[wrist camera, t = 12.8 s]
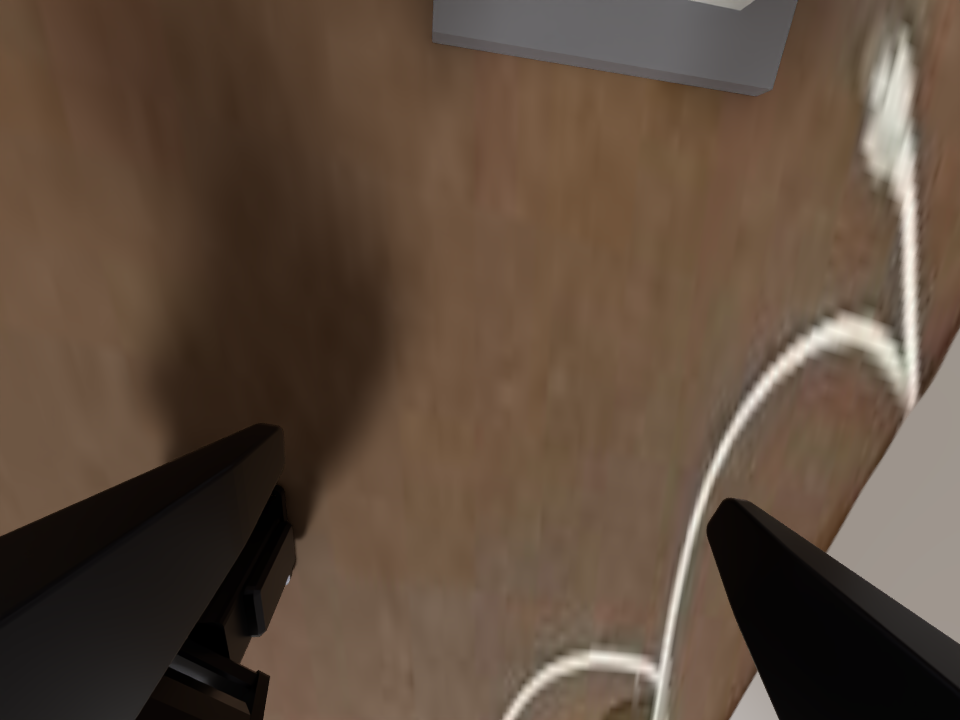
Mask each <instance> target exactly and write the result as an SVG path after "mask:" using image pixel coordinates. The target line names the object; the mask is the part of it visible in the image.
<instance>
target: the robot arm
mask: <svg viewBox="0 0 960 720" xmlns="http://www.w3.org/2000/svg"><path fill="white" fill-rule="evenodd" d="M284 464H285V449H284V433H283V430H282V428H281V427H280V426H277V425H271V424H264V423H258V424H255V425H253V426H250V427H248V428H246V429H244V430H241V431H239V432H237V433H234V434H232V435H230V436H228V437H225V438H223V439H221V440H219V441H216V442H214V443H212V444H209V445H207V446H205V447H203V448H200V449H198V450H196V451H194V452H191V453H189V454H187V455H184V456H182V457H180V458H178V459H175V460H173V461H171V462H169V463H166V464H164V465H162V466H159V467H157V468H155V469H153V470H150V471H148V472H146V473H144V474H141V475H139V476H137V477H134V478H132V479H130V480H128V481H125V482H123V483H121V484H119V485H116V486H114V487H112V488H109V489H107V490H105V491H103V492H100V493H98V494H96V495H94V496H91V497H89V498H87V499H84V500H82V501H80V502H78V503H75V504H73V505H71V506H69V507H66V508H64V509H62V510H59V511H57V512H55V513H53V514H50V515H48V516H46V517H43V518H41V519H39V520H37V521H34V522H32V523H30V524H28V525H25V526H23V527H21V528H18V529H16V530H14V531H12V532H9V533H7V534H5V535H3V536H0V720H263V716H264V710H265V704H266V698H267V692H268V686H269V680H270V676H269V675H267V674H265V673H263V672H261V671H259V670H258V671H256V672H255V671H253V670H251V669H249V668H247V667H245V666H243V665H241V664H240V663H241V660H242V658H243V656H244V654H245V651H246V649H247V647H248V645H249V642H250V640H251V638H252V637H260V636H261V635H262V634H263V633H264V632H265V631H266V630H267V628H268V626H269V623H270V621H271V618H272V616H273V613H274V611H275V609H276V606H277V604H278V601H279V599H280V597H281V594H282V592H283V589H284V587H285V585H286V584H288V583H289V581H290V579H291V576H292V568H293V565H294V563H295V548H294V538H293V527H292V524H291V523H290V522H289V521H287V513H286V503H285V492H284V489H283V488H282V487H281V486H279V485H276V483H277V481H278V479H279V477H280V475H281V473H282V471H283V468H284ZM271 493H272V494H274V495H276V496H271ZM706 532H707V538H708V541H709V544H710V547H711V549H712V552H713V555H714V558H715V561H716V564H717V567H718V570H719V573H720V576H721V579H722V582H723V585H724V588H725V591H726V594H727V597H728V600H729V603H730V605H731V608H732V611H733V614H734V616H735V619H736V621H737V623H738V626H739V628H740V631H741V633H742V635H743V638H744V640H745V642H746V645H747V647H748V649H749V651H750V654H751V656H752V658H753V661H754V663H755V665H756V668H757V670H758V672H759V674H760V677H761V679H762V681H763V684H764V686H765V688H766V691H767V693H768V695H769V697H770V700H771V702H772V704H773V707H774V709H775V711H776V714H777V716H778V718H779V720H960V644H959V643H957V642H956V641H954V640H953V639H951V638H950V637H948V636H947V635H945V634H944V633H943V632H941V631H940V630H938V629H937V628H935V627H934V626H932V625H931V624H929V623H928V622H926V621H925V620H923V619H922V618H920V617H919V616H918V615H916V614H915V613H913V612H912V611H910V610H909V609H907V608H906V607H904V606H903V605H901V604H900V603H898V602H897V601H895V600H894V599H893V598H891V597H890V596H888V595H887V594H885V593H884V592H882V591H881V590H879V589H878V588H876V587H875V586H873V585H872V584H871V583H869V582H868V581H866V580H865V579H863V578H862V577H860V576H859V575H857V574H856V573H854V572H853V571H851V570H850V569H848V568H847V567H846V566H844V565H843V564H841V563H839V562H838V561H837V560H835V559H834V558H832V557H831V556H829V555H828V554H826V553H825V552H823V551H822V550H821V549H819V548H818V547H816V546H815V545H813V544H812V543H810V542H809V541H807V540H806V539H804V538H803V537H801V536H800V535H798V534H797V533H796V532H794V531H793V530H791V529H790V528H788V527H787V526H785V525H784V524H782V523H781V522H779V521H778V520H776V519H775V518H773V517H772V516H771V515H769V514H768V513H766V512H765V511H763V510H762V509H760V508H759V507H757V506H756V505H754V504H753V503H751V502H749V501H747V500H742V499H736V498H726V499H724V500H723V501H722V502H721V504H720V505H719V507H718V508H717V510H716V512H715V513H714V515H713V516H712V518H711V519H710V521H709V522H708V524H707V530H706Z"/></svg>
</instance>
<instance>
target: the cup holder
mask: <svg viewBox="0 0 960 720" xmlns="http://www.w3.org/2000/svg"><path fill="white" fill-rule="evenodd" d="M797 1H798V0H434V2H433V30H432V42H433V43H439V44H445V45H451V46H457V47H463V48H469V49H475V50H481V51H487V52H493V53H499V54H505V55H511V56H517V57H523V58H529V59H535V60H541V61H547V62H553V63H559V64H565V65H571V66H577V67H583V68H589V69H595V70H601V71H607V72H613V73H619V74H625V75H631V76H637V77H643V78H649V79H655V80H661V81H667V82H673V83H679V84H685V85H691V86H697V87H703V88H709V89H715V90H721V91H727V92H733V93H739V94H745V95H751V96H758V95H761V94H763V93H765V92H768V91H770V90H772V89H773V85H774V82H775V78H776V75H777V71H778V68H779V64H780V61H781V57H782V54H783V50H784V47H785V43H786V40H787V36H788V33H789V29H790V26H791V22H792V19H793V15H794V12H795V8H796V5H797Z"/></svg>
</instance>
